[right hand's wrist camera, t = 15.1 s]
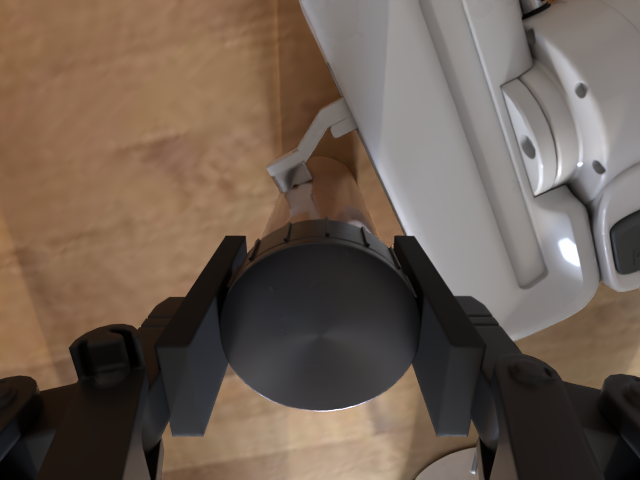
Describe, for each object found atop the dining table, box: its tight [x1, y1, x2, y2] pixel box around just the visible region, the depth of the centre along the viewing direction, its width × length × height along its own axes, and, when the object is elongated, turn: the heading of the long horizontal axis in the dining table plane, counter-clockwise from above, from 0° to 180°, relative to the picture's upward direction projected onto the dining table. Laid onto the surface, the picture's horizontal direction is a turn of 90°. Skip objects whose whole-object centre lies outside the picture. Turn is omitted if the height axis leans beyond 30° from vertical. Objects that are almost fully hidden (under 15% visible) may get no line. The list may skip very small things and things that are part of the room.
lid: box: [219, 217, 421, 411], centre depth 11 cm, size 6×6×2 cm
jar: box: [261, 156, 380, 240], centre depth 18 cm, size 5×5×15 cm
